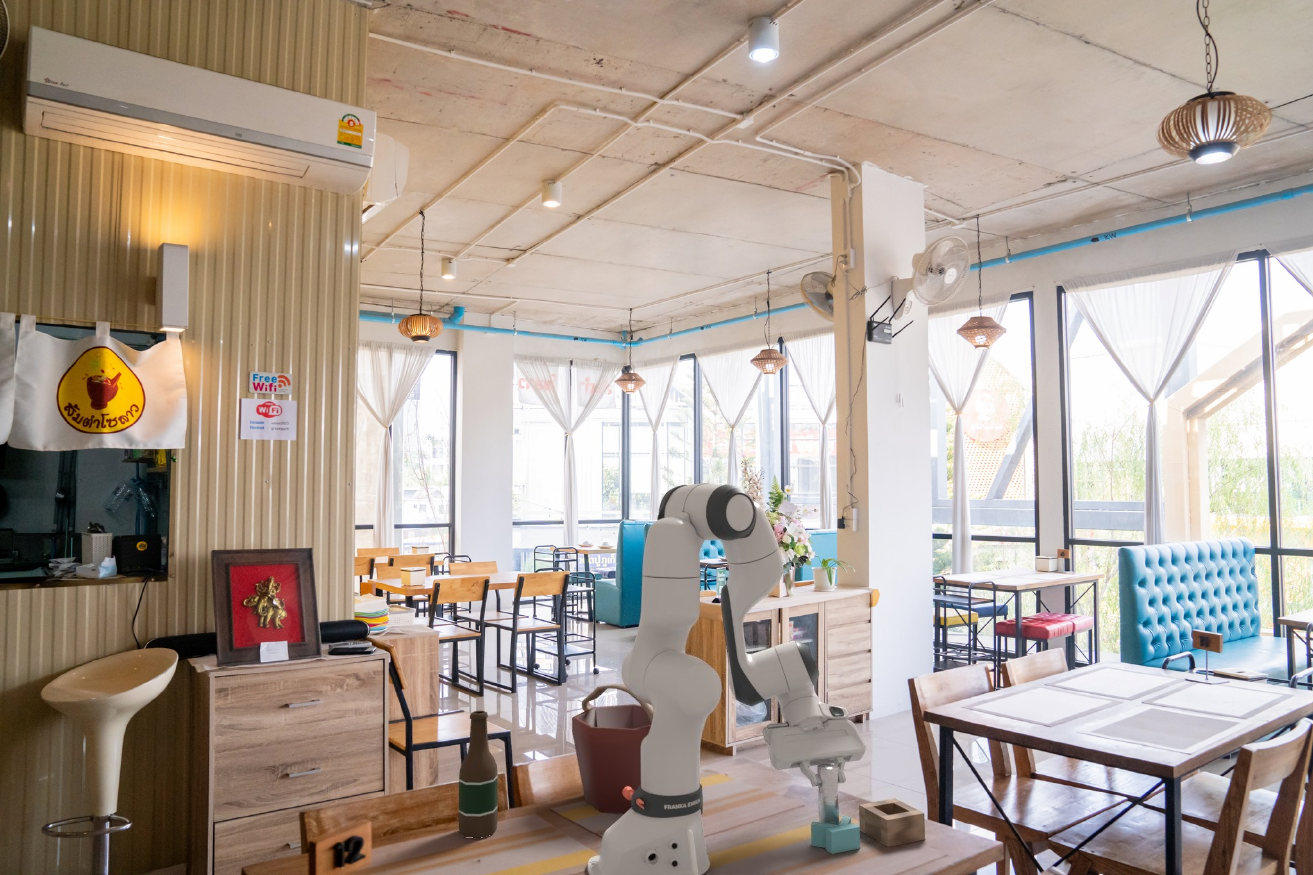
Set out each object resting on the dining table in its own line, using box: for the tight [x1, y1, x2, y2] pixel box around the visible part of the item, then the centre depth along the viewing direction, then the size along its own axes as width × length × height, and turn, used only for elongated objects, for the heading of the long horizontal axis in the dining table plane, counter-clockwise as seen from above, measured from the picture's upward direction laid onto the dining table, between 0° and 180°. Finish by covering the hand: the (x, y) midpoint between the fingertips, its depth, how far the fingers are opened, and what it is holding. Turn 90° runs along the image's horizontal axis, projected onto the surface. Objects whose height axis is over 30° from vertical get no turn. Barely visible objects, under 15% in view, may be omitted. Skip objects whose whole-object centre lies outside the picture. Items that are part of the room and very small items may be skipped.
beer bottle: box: [458, 710, 499, 839], centre depth 172 cm, size 8×8×24 cm
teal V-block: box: [810, 815, 861, 855], centre depth 163 cm, size 9×6×4 cm, turn 112°
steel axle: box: [816, 763, 840, 825], centre depth 166 cm, size 4×4×11 cm
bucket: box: [571, 683, 653, 815], centre depth 189 cm, size 24×22×25 cm
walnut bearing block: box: [858, 797, 926, 848], centre depth 168 cm, size 9×9×5 cm
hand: (829, 783), depth 165 cm, fingers closed on steel axle, 4 cm apart
